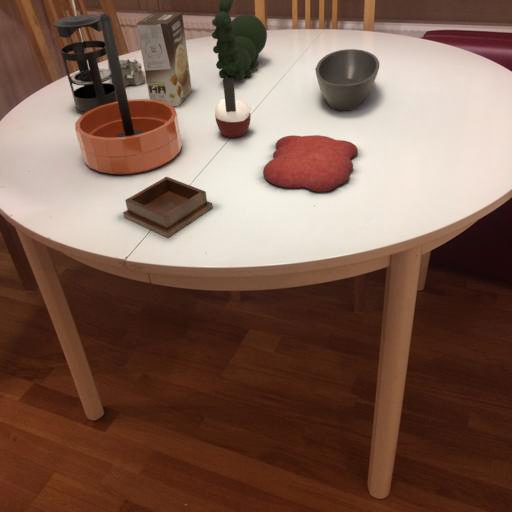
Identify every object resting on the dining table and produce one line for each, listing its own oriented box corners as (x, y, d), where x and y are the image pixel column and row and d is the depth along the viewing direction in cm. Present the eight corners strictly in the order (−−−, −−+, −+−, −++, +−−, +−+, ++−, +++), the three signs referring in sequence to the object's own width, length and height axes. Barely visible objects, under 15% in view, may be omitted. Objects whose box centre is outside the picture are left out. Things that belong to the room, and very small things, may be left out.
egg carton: (145, 85, 119) (142, 66, 116) (112, 89, 117) (108, 71, 115) (141, 70, 127) (138, 53, 124) (110, 74, 126) (106, 57, 123)
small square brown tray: (167, 237, 70) (164, 220, 68) (124, 217, 75) (119, 200, 73) (212, 207, 75) (210, 190, 74) (169, 190, 80) (166, 174, 78)
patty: (280, 138, 93) (280, 127, 91) (360, 143, 89) (361, 132, 88) (254, 187, 79) (253, 175, 78) (346, 196, 76) (347, 184, 75)
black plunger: (131, 161, 87) (100, 20, 74) (108, 152, 90) (74, 16, 77) (157, 147, 91) (132, 11, 78) (134, 139, 94) (107, 7, 81)
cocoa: (228, 122, 99) (222, 58, 92) (259, 126, 97) (255, 60, 90) (206, 144, 92) (198, 75, 85) (238, 148, 90) (233, 79, 83)
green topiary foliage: (249, 96, 114) (275, 51, 131) (240, 4, 101) (270, -32, 119) (208, 94, 116) (239, 50, 134) (195, 4, 103) (231, -32, 121)
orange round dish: (128, 186, 82) (119, 148, 78) (65, 160, 90) (54, 124, 86) (201, 146, 92) (196, 111, 88) (138, 126, 100) (131, 92, 96)
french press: (128, 108, 108) (102, -16, 94) (83, 119, 104) (49, -8, 90) (111, 92, 116) (85, -24, 102) (68, 102, 112) (35, -17, 98)
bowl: (308, 117, 99) (308, 84, 95) (323, 77, 116) (323, 48, 112) (373, 120, 97) (376, 87, 93) (379, 79, 113) (381, 49, 110)
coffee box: (179, 107, 107) (167, 23, 97) (150, 106, 108) (135, 23, 98) (192, 90, 114) (182, 11, 104) (165, 90, 115) (152, 11, 105)
